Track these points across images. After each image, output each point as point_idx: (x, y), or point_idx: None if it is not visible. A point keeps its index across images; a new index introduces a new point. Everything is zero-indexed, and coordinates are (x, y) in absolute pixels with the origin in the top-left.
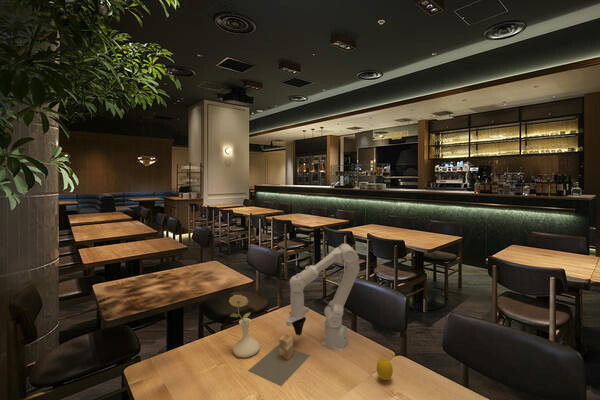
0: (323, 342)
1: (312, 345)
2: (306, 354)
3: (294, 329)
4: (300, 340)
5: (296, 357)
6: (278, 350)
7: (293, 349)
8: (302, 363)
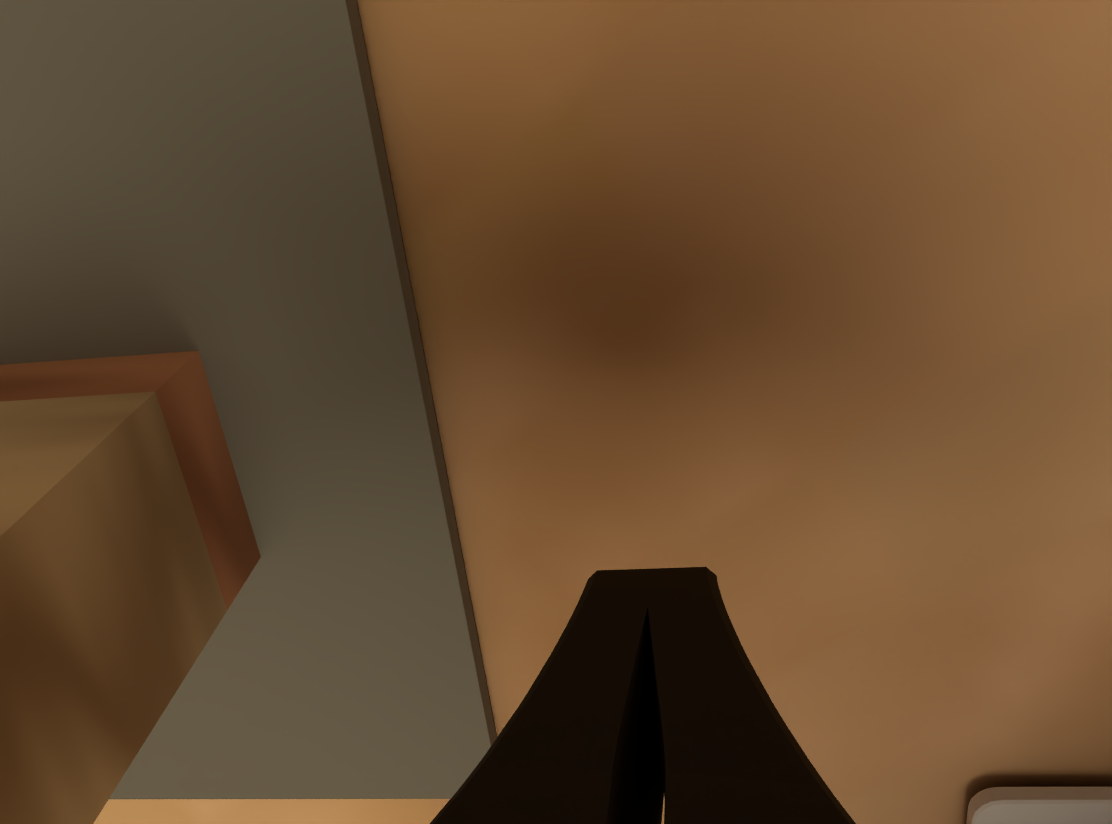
0: (1056, 819)
1: (866, 645)
2: (473, 737)
3: (529, 695)
4: (917, 295)
5: (259, 639)
6: (110, 131)
7: (423, 430)
8: (223, 795)
